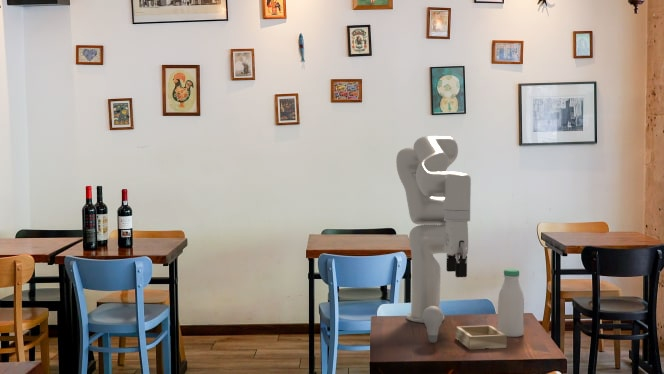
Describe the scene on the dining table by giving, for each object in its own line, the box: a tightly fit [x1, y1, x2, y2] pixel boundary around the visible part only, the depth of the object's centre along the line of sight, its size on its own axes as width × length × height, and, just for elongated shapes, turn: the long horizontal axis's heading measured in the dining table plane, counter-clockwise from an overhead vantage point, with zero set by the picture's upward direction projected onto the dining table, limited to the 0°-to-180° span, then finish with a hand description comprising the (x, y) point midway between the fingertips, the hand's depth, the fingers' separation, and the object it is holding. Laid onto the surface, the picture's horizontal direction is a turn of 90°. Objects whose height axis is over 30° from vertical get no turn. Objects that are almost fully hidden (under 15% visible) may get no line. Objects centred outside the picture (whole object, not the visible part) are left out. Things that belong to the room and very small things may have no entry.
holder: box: [455, 324, 508, 350], centre depth 212 cm, size 12×11×4 cm
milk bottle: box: [497, 268, 525, 338], centre depth 221 cm, size 8×8×20 cm
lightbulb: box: [422, 306, 445, 344], centre depth 211 cm, size 6×6×11 cm
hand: (456, 274), depth 210 cm, fingers open, 9 cm apart
